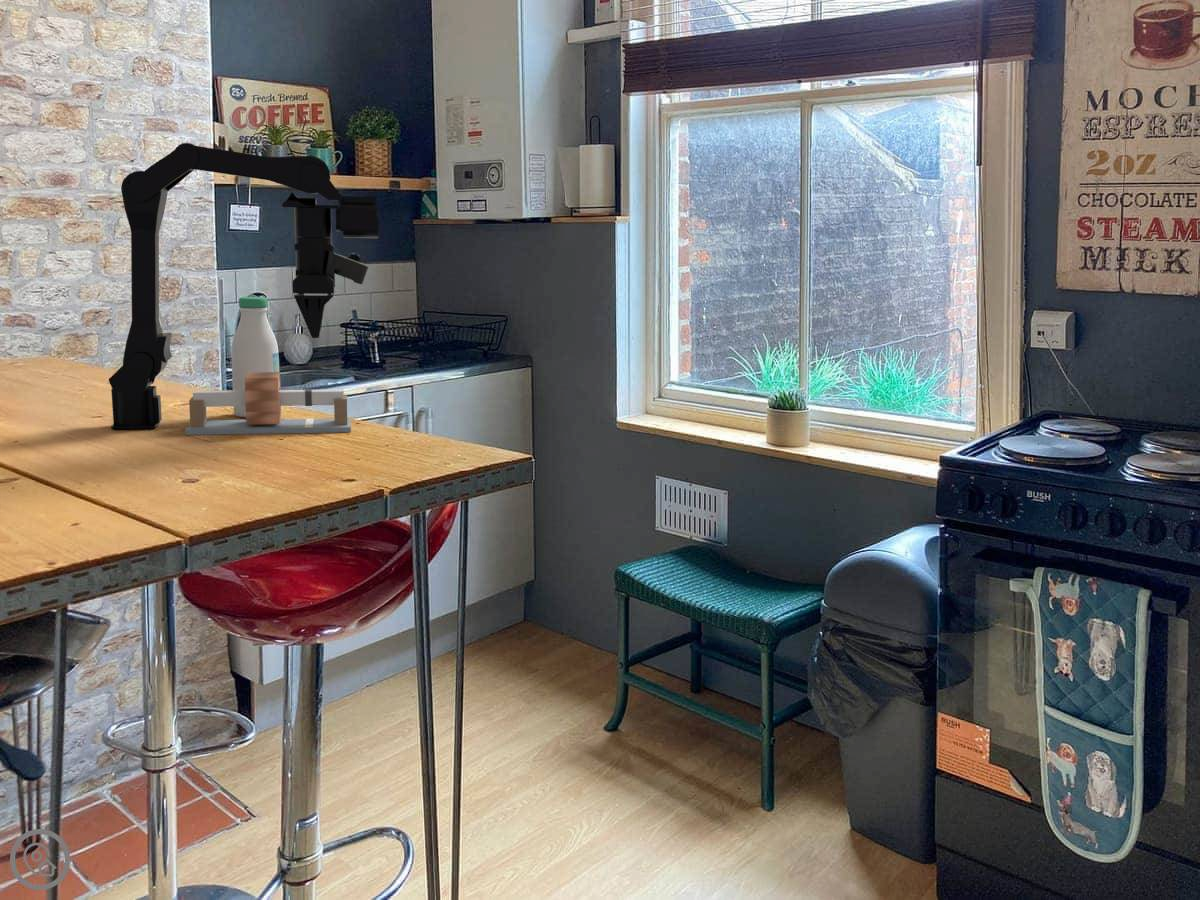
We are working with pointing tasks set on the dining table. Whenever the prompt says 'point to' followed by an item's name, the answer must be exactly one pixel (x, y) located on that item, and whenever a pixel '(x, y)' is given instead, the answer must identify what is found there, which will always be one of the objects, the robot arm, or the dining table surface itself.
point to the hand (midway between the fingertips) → (316, 334)
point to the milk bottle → (252, 345)
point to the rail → (286, 398)
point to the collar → (262, 398)
